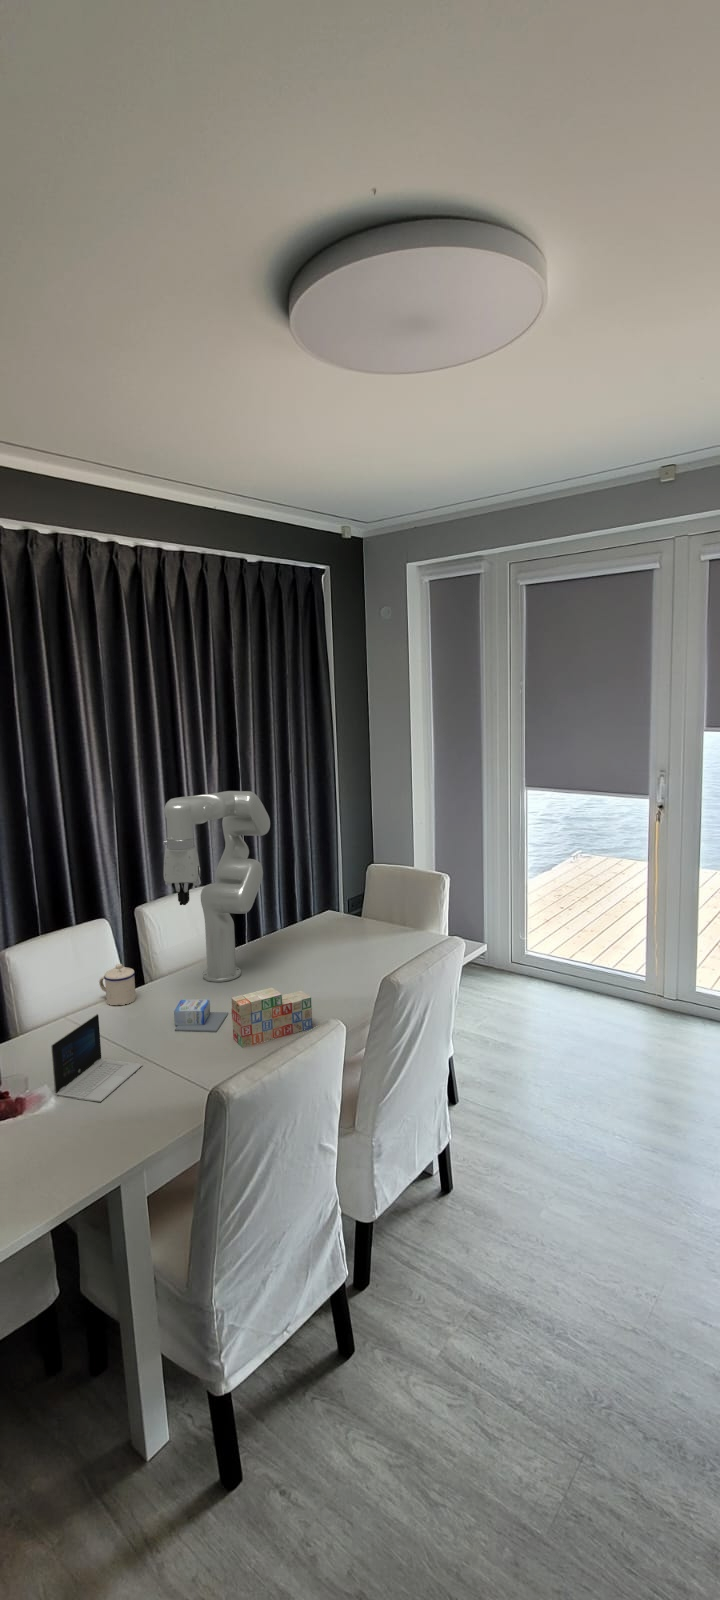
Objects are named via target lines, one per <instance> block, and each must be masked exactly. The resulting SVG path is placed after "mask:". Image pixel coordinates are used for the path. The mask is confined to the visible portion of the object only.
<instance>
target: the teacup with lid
mask: <svg viewBox="0 0 720 1600" xmlns="http://www.w3.org/2000/svg"><path fill="white" fill-rule="evenodd" d="M135 976H136V972H135V970H134V968H131V967H125V966H123V964H122V963H118V964H116V965H115V967H113V968H112V969H109V970H107V971H106V972H105V973H104V976H102V977H100V978H99V980H98V982H99V984H98V985H99V987H100V989H101V990H102V991H103V992H105V997H106V998H105V999H106V1000H105V1001H106V1003H108V1004H107V1005H109V1004H110V1005H109V1006H111V1005H123V1006H126V1005H125V1004H127V1005H129V1003H130V1004H131V1002H132V1003H133V1002H134V1001H136V999H135V998H137V997H136V983H135V982H136V980H135ZM103 981H104V982H103ZM104 983H105V984H104Z"/></svg>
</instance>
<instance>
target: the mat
mask: <svg viewBox="0 0 720 1600" xmlns="http://www.w3.org/2000/svg"><path fill="white" fill-rule="evenodd" d="M228 1015H229V1012H227V1011H222V1012H221V1011H210V1014H209V1016H208V1018H207V1020H206V1022H205V1024H204V1025H176V1027H175V1028H174V1032H192V1033H194V1032H196V1033H197V1032H198V1033H217V1032H218V1030H219V1029H220V1028H221V1026H222V1024H223V1023H224V1021H225V1019H226V1018H227V1016H228Z"/></svg>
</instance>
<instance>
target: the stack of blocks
mask: <svg viewBox="0 0 720 1600" xmlns="http://www.w3.org/2000/svg"><path fill="white" fill-rule="evenodd" d="M312 1007H313V1006H312V997H311V996H310V995H308V994H307V993H305V992H304V991H303V990H297V991H294V992H289V993H285V994H282V993H281V992H279V991H278V990H276V989H275V988H273V987H269V988H264V989H260V990H257V991H254V992H253V991H252V992H249V993H245V994H240V995H236V996H233V997H231V1019H232V1035H233V1036H232V1037H233V1038H232V1039H233V1040H234V1041H235V1042H236V1043H237V1044H238V1045H239V1046H240V1047H241V1048H247V1047H250V1046H255V1045H257V1043H258V1044H261V1042H262V1043H265V1042H264V1041H266V1042H268V1041H267V1040H269V1041H271V1040H270V1039H273V1038H276V1039H278V1037H279V1038H282V1037H286V1036H289V1035H292V1034H296V1033H299V1031H300V1032H303V1031H307V1030H311V1029H313V1008H312ZM304 1029H305V1030H304ZM285 1035H286V1036H285ZM273 1040H274V1039H273Z"/></svg>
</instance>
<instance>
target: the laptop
mask: <svg viewBox="0 0 720 1600" xmlns="http://www.w3.org/2000/svg"><path fill="white" fill-rule="evenodd" d="M100 1032H101V1031H100V1021H99V1014H98V1013H96V1014H95V1015H94V1016H92V1017H90V1018H88V1020H86V1021H85V1022H83V1023H82V1024H80V1025H79V1026H77V1027H75V1028H74V1029H73V1030H71V1031H70V1032H68V1033H67V1034H65V1035H64V1036H63V1037H61V1038H60V1039H58V1040H57V1041H55V1042H54V1043H52V1044H51V1046H50V1048H51V1058H52V1059H51V1061H52V1071H53V1073H52V1074H53V1085H54V1094H55V1097H57V1096H58V1098H59V1097H60V1098H65V1099H73V1100H81V1101H82V1100H83V1101H90V1102H99V1103H100V1102H102V1101H103V1100H105V1098H107V1097H108V1096H109V1095H110V1094H111V1093H112V1092H113V1091H115V1090H116V1089H117V1088H118V1087H119V1086H120V1085H121V1084H123V1083H124V1082H125V1081H126V1080H128V1078H129V1077H131V1076H132V1075H133V1074H134V1073H136V1072H137V1071H138V1070H139V1069H140V1068H141V1067H142V1066H143V1063H139V1062H132V1061H129V1062H128V1061H123V1060H113V1059H107V1058H102V1049H101V1048H102V1047H101V1046H102V1045H101V1033H100Z"/></svg>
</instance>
